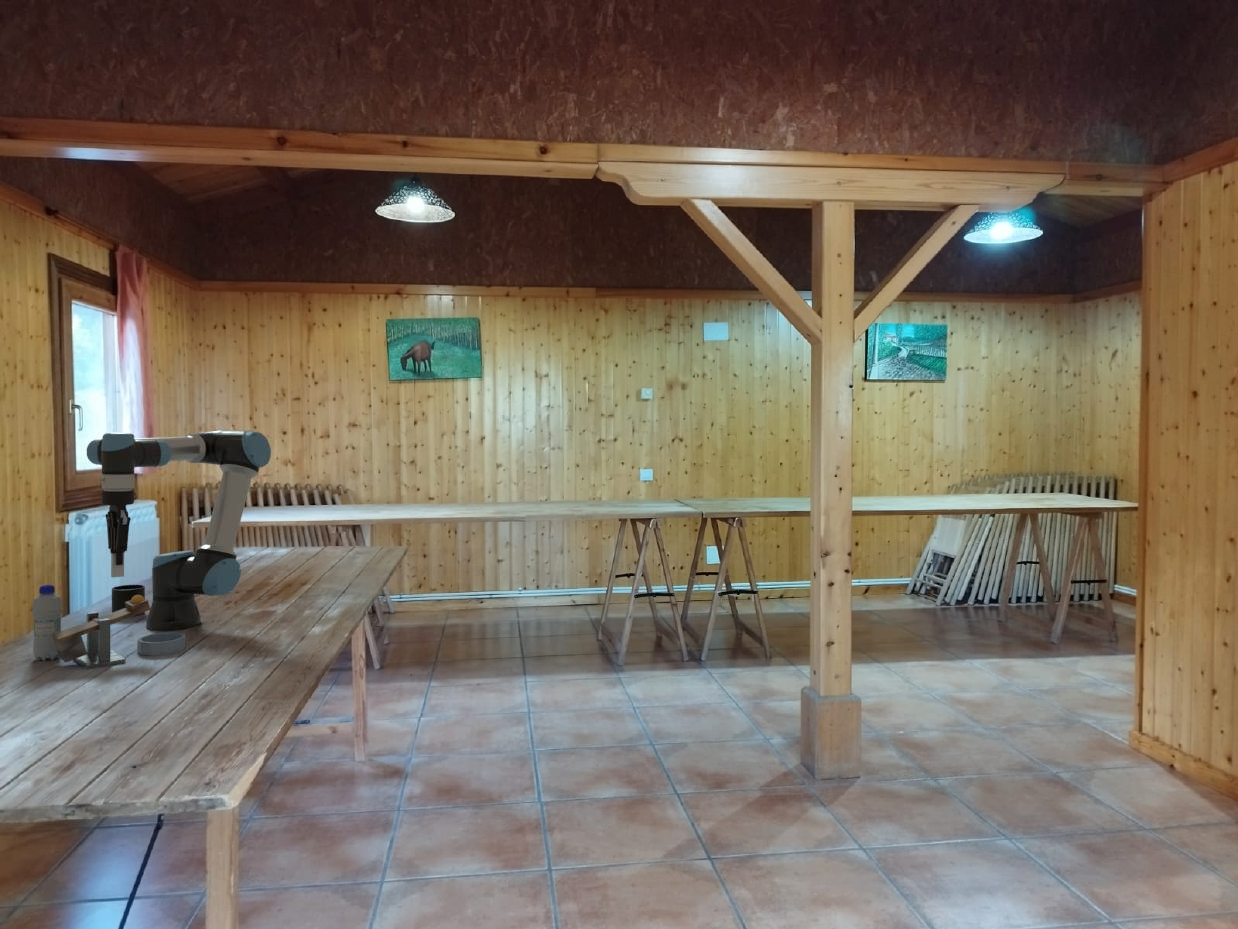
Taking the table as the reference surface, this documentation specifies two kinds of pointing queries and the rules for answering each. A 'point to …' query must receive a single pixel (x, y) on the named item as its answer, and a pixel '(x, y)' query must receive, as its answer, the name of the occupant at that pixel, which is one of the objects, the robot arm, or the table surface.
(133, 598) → the ball
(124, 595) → the mug
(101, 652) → the fulcrum
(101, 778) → the table surface
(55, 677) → the table surface
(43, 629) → the bottle
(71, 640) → the lever
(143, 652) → the bowl
